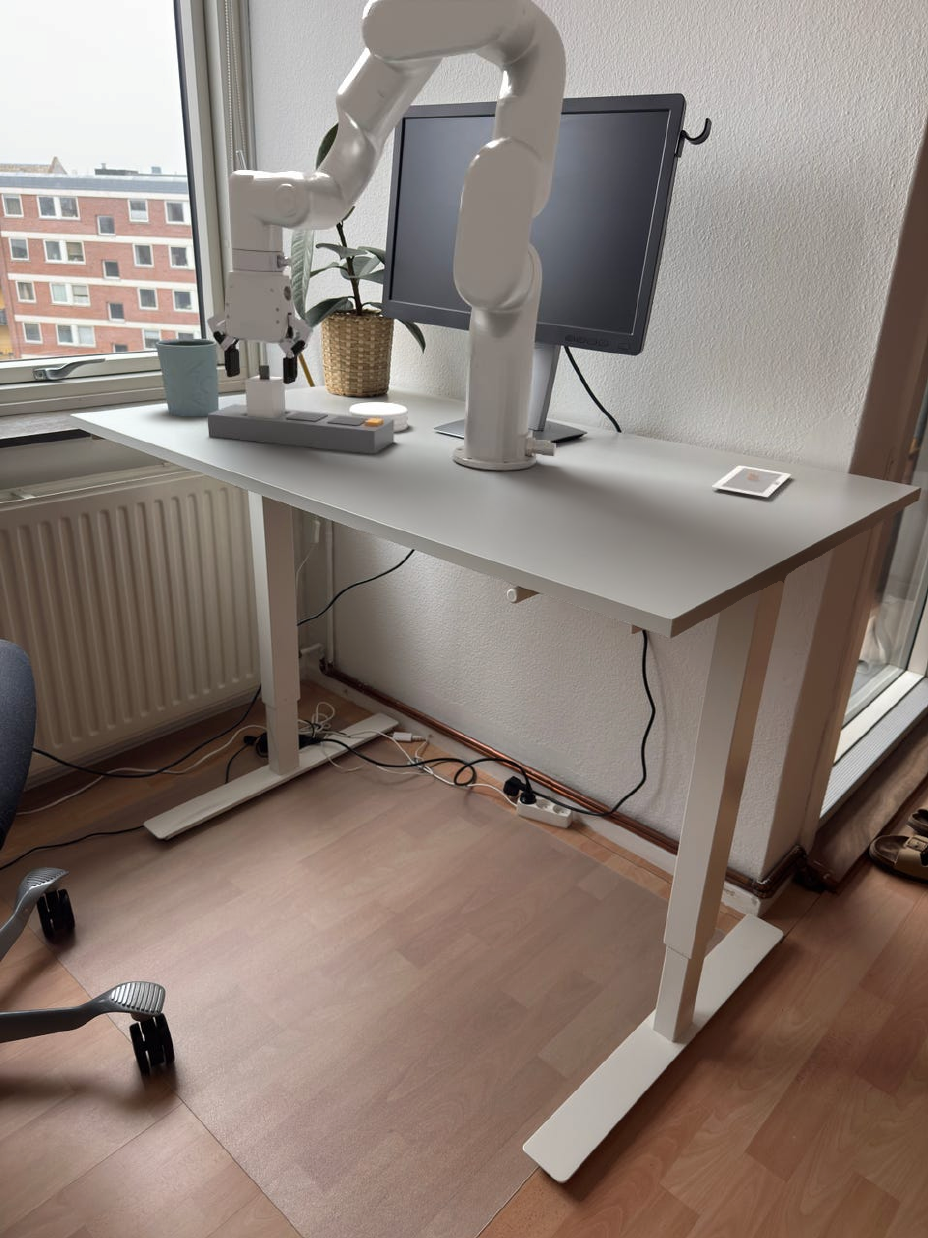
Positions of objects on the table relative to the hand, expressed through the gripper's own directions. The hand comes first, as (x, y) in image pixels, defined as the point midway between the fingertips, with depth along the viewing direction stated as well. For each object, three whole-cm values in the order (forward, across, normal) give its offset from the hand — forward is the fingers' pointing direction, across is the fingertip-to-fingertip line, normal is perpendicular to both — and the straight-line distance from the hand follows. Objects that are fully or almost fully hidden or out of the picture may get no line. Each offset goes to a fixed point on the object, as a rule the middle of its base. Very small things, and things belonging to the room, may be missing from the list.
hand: (261, 379), depth 140 cm
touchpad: (+8, -77, -1) cm, 77 cm away
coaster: (+9, -15, -14) cm, 22 cm away
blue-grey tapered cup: (+10, +19, -11) cm, 24 cm away
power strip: (+9, -7, 0) cm, 11 cm away
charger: (+9, -1, 0) cm, 9 cm away
